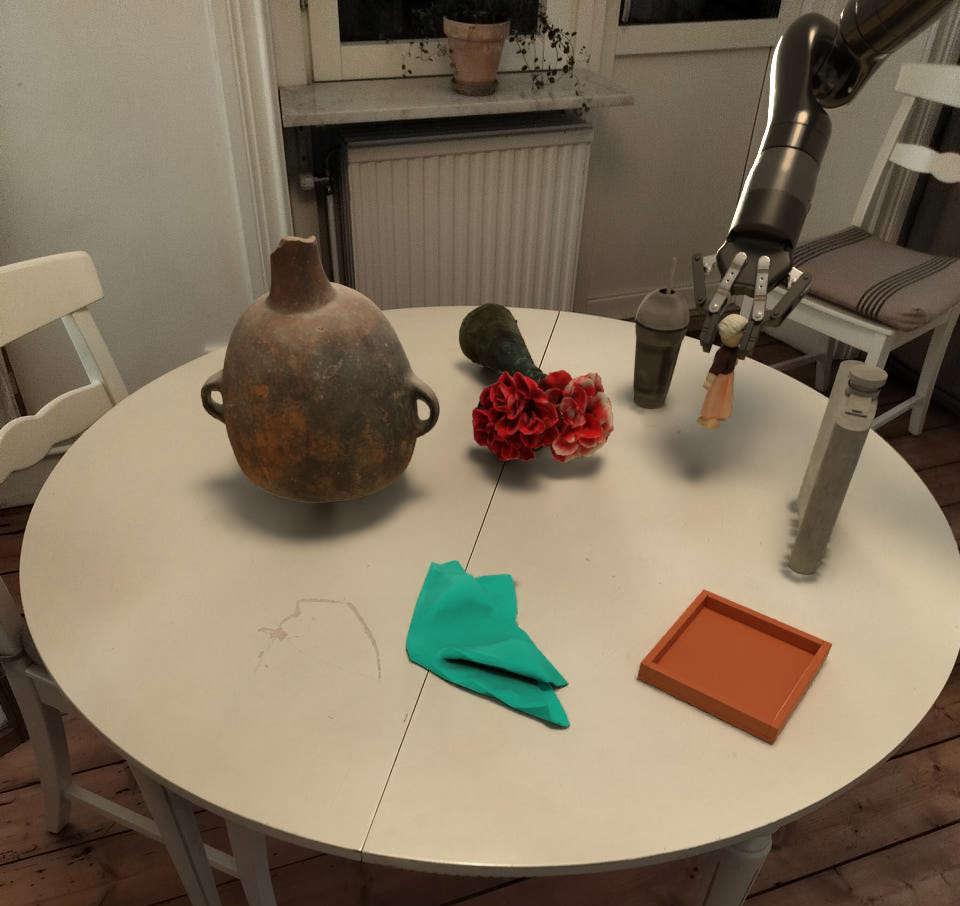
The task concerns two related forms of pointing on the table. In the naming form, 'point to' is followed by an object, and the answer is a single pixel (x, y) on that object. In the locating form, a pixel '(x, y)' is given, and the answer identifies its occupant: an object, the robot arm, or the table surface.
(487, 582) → the cloth
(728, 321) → the grandmother figurine
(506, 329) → the carnation
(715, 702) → the figure tray
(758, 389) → the table surface
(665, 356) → the beverage cup
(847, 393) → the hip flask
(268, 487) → the jug
